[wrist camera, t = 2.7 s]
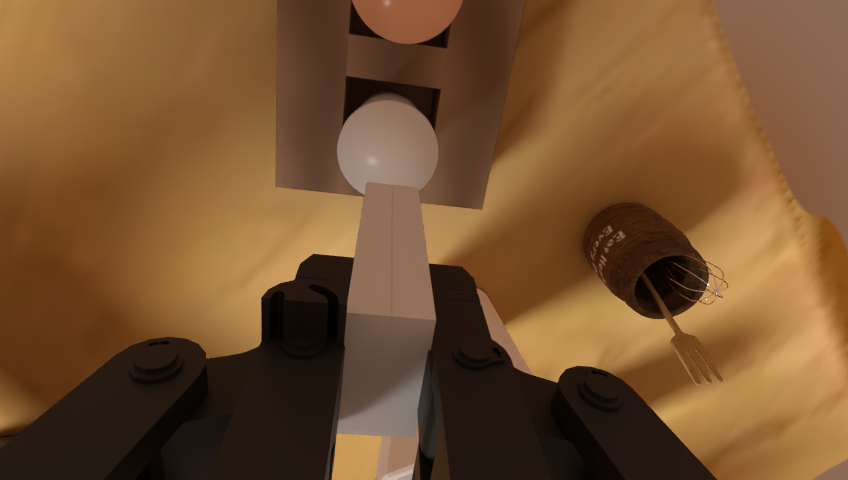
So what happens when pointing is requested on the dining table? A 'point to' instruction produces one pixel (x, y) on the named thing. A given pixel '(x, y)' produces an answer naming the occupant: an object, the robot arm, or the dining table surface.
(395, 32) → the terracotta plug
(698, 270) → the utensil holder
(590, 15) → the dining table surface
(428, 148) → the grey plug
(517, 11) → the wooden peg tray
